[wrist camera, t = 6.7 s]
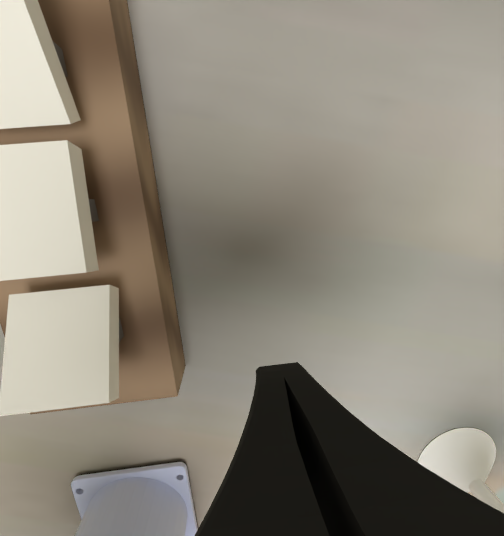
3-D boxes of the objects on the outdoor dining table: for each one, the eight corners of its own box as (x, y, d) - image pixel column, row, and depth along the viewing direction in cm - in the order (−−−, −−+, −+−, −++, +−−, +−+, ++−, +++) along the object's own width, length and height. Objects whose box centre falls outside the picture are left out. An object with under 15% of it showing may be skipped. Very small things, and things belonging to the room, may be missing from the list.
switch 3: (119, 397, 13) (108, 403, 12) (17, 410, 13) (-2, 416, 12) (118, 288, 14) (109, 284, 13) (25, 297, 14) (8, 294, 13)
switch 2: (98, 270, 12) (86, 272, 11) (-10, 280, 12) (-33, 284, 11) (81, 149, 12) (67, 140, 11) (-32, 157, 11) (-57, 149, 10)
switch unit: (185, 365, 19) (173, 411, 15) (54, 380, 18) (4, 432, 14) (123, -18, 14) (79, -110, 10) (-61, -10, 13) (-190, -102, 9)
